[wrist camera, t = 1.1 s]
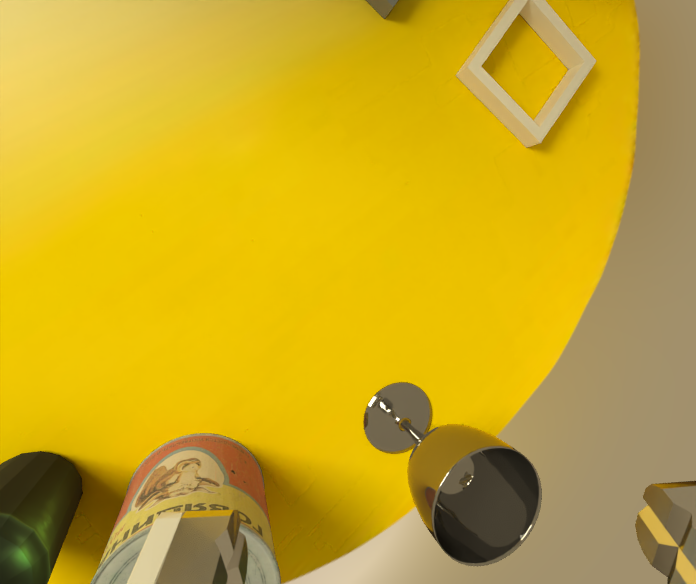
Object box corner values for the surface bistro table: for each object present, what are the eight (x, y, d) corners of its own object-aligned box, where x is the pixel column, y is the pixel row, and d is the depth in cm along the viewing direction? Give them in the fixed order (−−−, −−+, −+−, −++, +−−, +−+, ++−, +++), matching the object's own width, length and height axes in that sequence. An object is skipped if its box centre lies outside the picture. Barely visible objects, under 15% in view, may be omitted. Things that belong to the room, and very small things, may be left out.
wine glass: (449, 398, 43) (561, 474, 29) (410, 469, 43) (505, 582, 29) (385, 364, 41) (473, 427, 27) (344, 438, 41) (410, 543, 26)
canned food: (250, 417, 38) (262, 491, 27) (274, 532, 40) (296, 648, 28) (110, 455, 35) (56, 556, 24) (143, 577, 37) (108, 726, 25)
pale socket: (455, 75, 40) (467, 67, 38) (514, -7, 41) (528, -20, 39) (526, 147, 43) (540, 142, 41) (580, 69, 44) (596, 61, 42)
